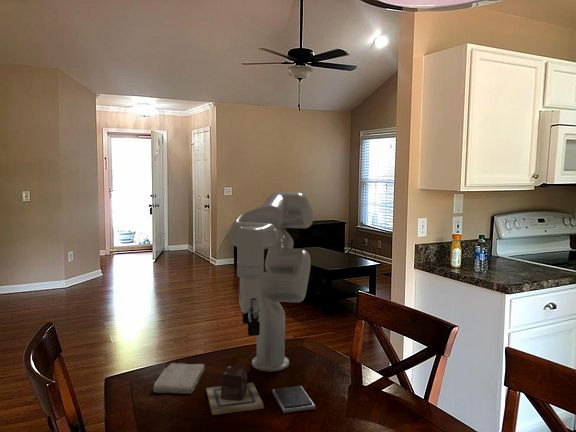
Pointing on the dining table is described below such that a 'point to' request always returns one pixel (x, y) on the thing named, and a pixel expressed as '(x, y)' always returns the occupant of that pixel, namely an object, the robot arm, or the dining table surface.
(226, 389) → the box
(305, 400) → the ink pad
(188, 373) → the washcloth
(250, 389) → the board
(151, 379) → the dining table surface
